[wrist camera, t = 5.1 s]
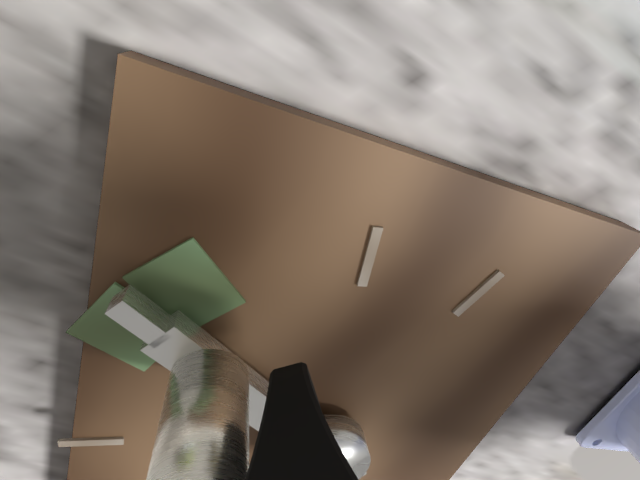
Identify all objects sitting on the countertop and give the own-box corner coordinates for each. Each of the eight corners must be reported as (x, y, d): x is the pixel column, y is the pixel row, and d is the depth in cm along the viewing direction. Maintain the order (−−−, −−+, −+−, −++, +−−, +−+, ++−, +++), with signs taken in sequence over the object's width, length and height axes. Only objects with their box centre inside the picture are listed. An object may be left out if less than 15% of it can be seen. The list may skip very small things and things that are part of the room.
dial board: (623, 222, 13) (651, 237, 13) (401, 508, 21) (408, 531, 20) (109, 43, 9) (92, 46, 8) (59, 501, 16) (47, 531, 15)
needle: (383, 444, 15) (437, 614, 11) (317, 481, 16) (343, 657, 11) (167, 256, 10) (101, 447, 5) (77, 322, 10) (-50, 544, 6)
